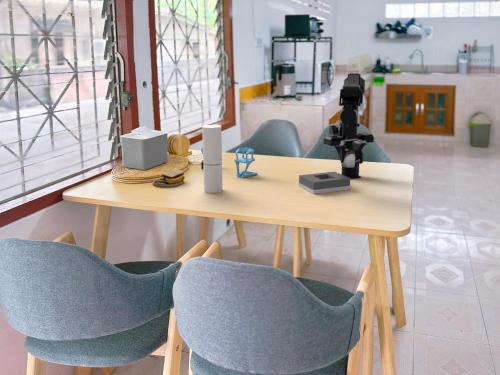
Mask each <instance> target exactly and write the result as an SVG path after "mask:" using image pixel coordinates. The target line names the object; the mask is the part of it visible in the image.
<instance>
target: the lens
mask: <svg viewBox="0 0 500 375" xmlns="http://www.w3.org/2000/svg"><path fill="white" fill-rule="evenodd" d="M340 164H341V168H342V167H348V168H350V167H355V150H354V149H345V156H344V161H343V163H341V162H340Z"/></svg>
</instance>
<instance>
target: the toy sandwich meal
mask: <svg viewBox="0 0 500 375" xmlns="http://www.w3.org/2000/svg"><path fill="white" fill-rule="evenodd" d="M184 174H185V172H184V171H183V170H181V169H176V168H172V169H170V170H167V171H165V172H163V173H161V179H159V178H156V179H154V180H153V181H152V184H153V185H154V186H156V187H159V188H172V187H174V188H175V187H178V186H181V185H183V183H184V182H185V181H184V180H185V178H186V177H185V175H184Z"/></svg>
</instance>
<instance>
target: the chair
mask: <svg viewBox="0 0 500 375" xmlns="http://www.w3.org/2000/svg"><path fill="white" fill-rule="evenodd" d="M239 152H241V153H242V154H241V157H239V155H238V154H239ZM245 152H246V153H245ZM254 153H255V150H254V149H253V148H251V147H248V146H245V147H240V148H237V150H236V151H235V152H234V154H235V156H236V157H235V159H234V163H235V168H236V178H240V177H241V178H242V179H245V178H248V177H253V176H257V175H258V172H255V171H248V169H249V167H250V165H251V164H252V163H253V162H255V161H256V158H254ZM250 154H251V157H248V156H249V155H250ZM241 163H242V164H246V166H245V168H244V170H241V171H240V164H241Z"/></svg>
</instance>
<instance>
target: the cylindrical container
mask: <svg viewBox="0 0 500 375" xmlns="http://www.w3.org/2000/svg"><path fill="white" fill-rule="evenodd" d="M201 128H202V130H201V131H202V147H203V154H202V158H203V169H202V170H203V191H204V192H205V193H207V194H208V193H209V194H216V193H220V192H223V147H222V146H223V145H222V144H223V141H222V140H223V139H222V138H223V137H222V125H220V124H204V125H202V127H201Z"/></svg>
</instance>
